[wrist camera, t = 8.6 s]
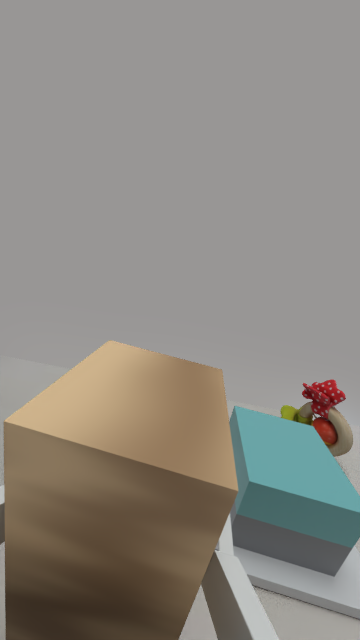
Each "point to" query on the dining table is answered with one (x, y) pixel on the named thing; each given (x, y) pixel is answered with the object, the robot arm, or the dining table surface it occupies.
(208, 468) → the oak brick
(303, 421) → the bird rattle
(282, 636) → the dining table surface
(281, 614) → the dining table surface
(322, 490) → the brick tower
